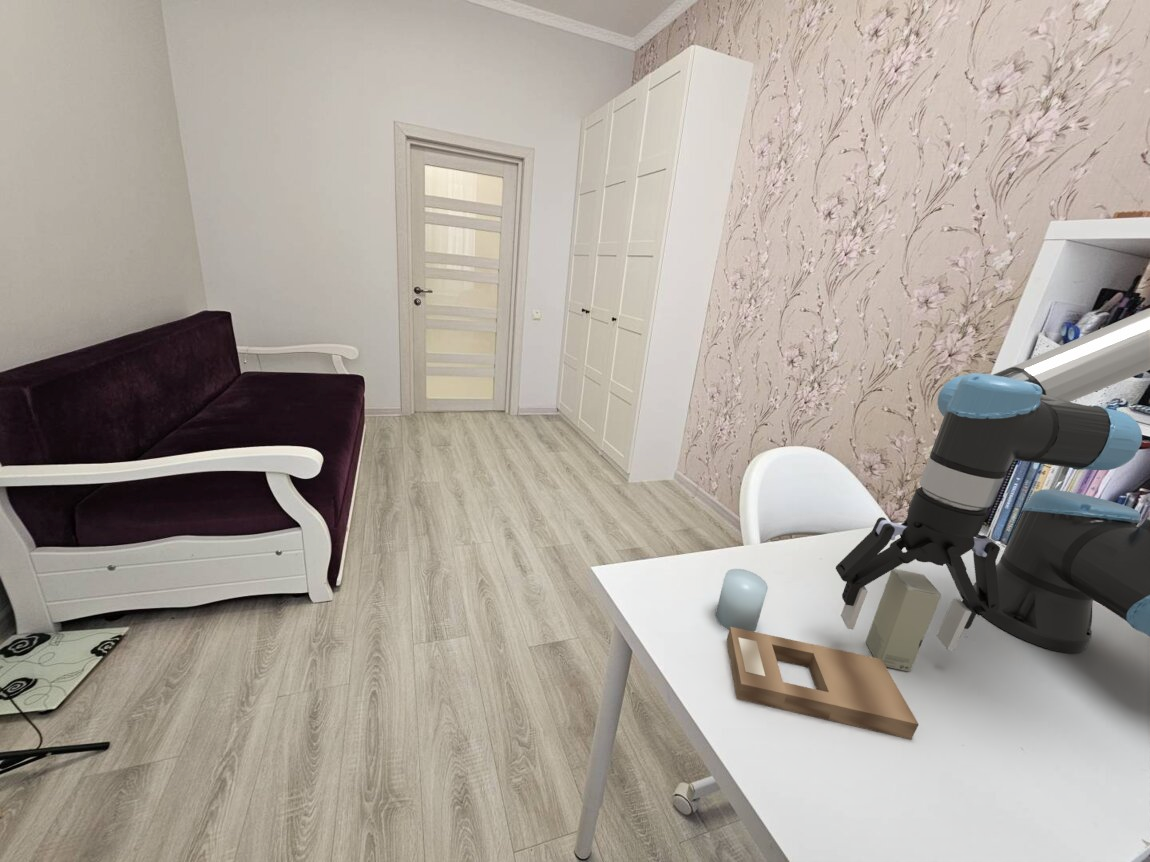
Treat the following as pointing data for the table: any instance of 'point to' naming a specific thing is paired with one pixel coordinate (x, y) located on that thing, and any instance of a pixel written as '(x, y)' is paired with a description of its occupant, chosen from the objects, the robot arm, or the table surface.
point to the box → (902, 619)
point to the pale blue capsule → (741, 600)
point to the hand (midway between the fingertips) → (894, 633)
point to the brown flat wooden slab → (819, 683)
